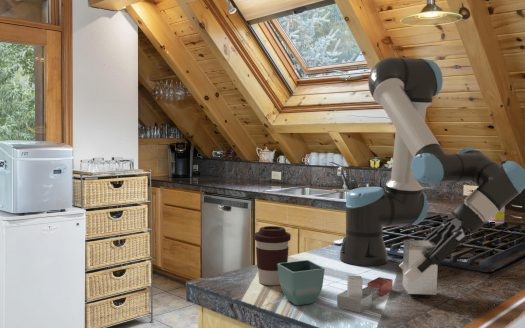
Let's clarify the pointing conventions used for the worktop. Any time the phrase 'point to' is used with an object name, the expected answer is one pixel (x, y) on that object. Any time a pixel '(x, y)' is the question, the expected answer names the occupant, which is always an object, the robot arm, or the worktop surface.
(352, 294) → the tiny brick pile
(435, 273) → the tall white upright block
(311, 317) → the worktop surface
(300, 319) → the worktop surface
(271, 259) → the coffee cup
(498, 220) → the supplement bottle
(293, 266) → the flower pot
